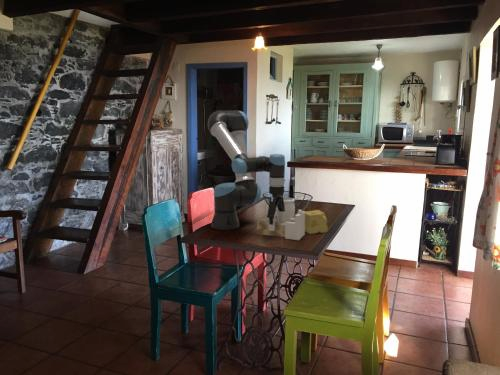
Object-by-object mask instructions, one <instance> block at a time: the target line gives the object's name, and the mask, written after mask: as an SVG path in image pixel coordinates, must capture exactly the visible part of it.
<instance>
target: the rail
mask: <svg viewBox="0 0 500 375" xmlns="http://www.w3.org/2000/svg"><path fill="white" fill-rule="evenodd" d="M256 225H257V226H256V231H257V232H256V234H257V235H261V236H262V235H263V236H273V237H280V238H281V237H282V238H283V237H284V238H285V223H278V221H277V222H276V221H275V231H269V221H267V220H266V221H264V220H259V221H258V222H257V223H256Z"/></svg>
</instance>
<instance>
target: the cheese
mask: <svg viewBox="0 0 500 375" xmlns="http://www.w3.org/2000/svg"><path fill="white" fill-rule="evenodd" d="M305 233H307V234H310V235H314V234H318V233H321V234H322V233H328V218H327V217H326V215H325V213H324V212H323V211H322V210H320V209H313V210H310V211H309V210H307V211H305Z"/></svg>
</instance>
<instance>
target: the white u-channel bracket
mask: <svg viewBox="0 0 500 375" xmlns="http://www.w3.org/2000/svg"><path fill="white" fill-rule="evenodd" d="M305 212H306V211H305V210H304V211H303V210H302V209H298V210H297V214H296V213H295V214H294V218H291V219H290V222H285V237H284V239H286V240H295V241H300V240H301V239H302V238H303V237H304V236H305V233H306V232H305Z"/></svg>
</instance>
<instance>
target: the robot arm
mask: <svg viewBox="0 0 500 375" xmlns="http://www.w3.org/2000/svg"><path fill="white" fill-rule="evenodd" d="M249 123H250V122H249V117H248V115H247V114H246V113H245V112H243V111H241V110H216V111H214V112H213V113H211V114H210V116H209V117H208V120H207V129H208V130H209V133H210V135H211V136H213V137H215V138H216V139H217V141H218V142H219V144H220V146H221V147H222V148H223V150H224V151H225V153H226V154H227V156H228V157H229V158H230V160H231V168H232V169H231V170H232V172H233V173H234V175H235V181H234V182H223V183H220V184H217V185H215V187H214V189H213V201H214V202H213V203H214V205H213V206H214V207H213V208H214V212H213V217H212V220H211V228H212V229H214V230H219V231H220V230H223V231H228V230H234V229H235V230H236V229H238V228H239V227H240V221H239V218H238V214H237V207H241V206H242V207H243V206H251V205H255V204H257V203H258V202H259V201H260V199H261V197H262V188H261V186H260V185H259V183H258V182H255V178H254V177H252V173H263V172H264V173H265V172H266V173H269V177H268V179H269V180H268V181H269V182H268V185H269V187H268V193H269V194H270V195H272V197H269V203H268V209H267V215H266V217H267V218H268V222H269V231H275V222H276V221H275V220H276V218H275V215H276V207H278V210H279V211H278V220H277V222H278V223H283V211H284V212H285V206H284V200H283V197H284V194H285V182H286V179H285V174H286V172H285V170H286V167H285V166H286V161H285V160H286V159H285V158H286V157H285V155H284V154H282V153H281V154H279V153H273V154H270V155H269V156H265V155H259V156H255V157H253V156H252V157H248V156H249V155H248V151H247V146H246V145H247V144H246V140H245V135H246V133H247V130H248V128H249Z"/></svg>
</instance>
